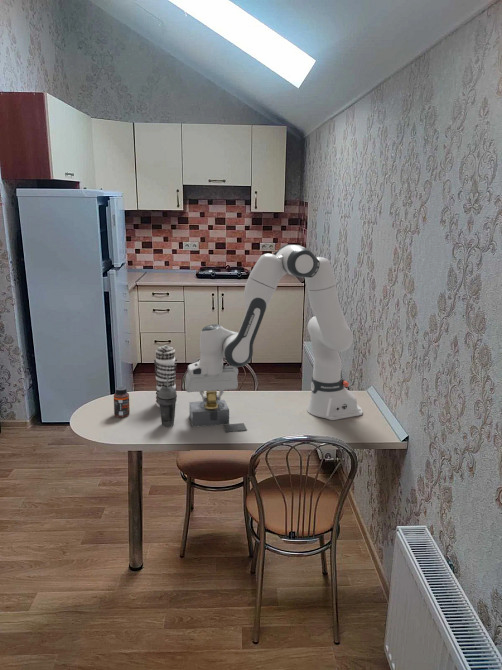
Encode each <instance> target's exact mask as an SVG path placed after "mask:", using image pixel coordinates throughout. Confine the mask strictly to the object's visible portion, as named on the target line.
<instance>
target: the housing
mask: <svg viewBox="0 0 502 670" xmlns="http://www.w3.org/2000/svg"><path fill="white" fill-rule="evenodd" d="M205 404H206V402H203V400H202V401H189V404H188V405H189V410H188V411H189V419H190V422H191V426H192V428H195V427H196V428H197V427H207V426H208V427H209V426H221V425H222V424H223V425H226V424H230V408H229V406H228V404H227V402H226V400H225V399H221V400H220V401H217V404H218V408H215V409H209V408H205ZM223 425H222V426H223Z"/></svg>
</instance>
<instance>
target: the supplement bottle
mask: <svg viewBox="0 0 502 670" xmlns="http://www.w3.org/2000/svg"><path fill="white" fill-rule="evenodd" d="M113 412H114V413H113V414H114V416H115V417H117V418H120V419H121V418H126V417H128V416H129V415H130V414H131V413H130V412H131V411H130V393H129V392H127V387H125V386H118V387H116V388H115V393H114V394H113Z"/></svg>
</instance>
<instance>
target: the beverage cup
mask: <svg viewBox="0 0 502 670" xmlns="http://www.w3.org/2000/svg"><path fill="white" fill-rule="evenodd" d="M176 392H177V390H176V391H175V389H174V388H173V387H171V386H168V376H167V386H163V387H162V388H161V389H160V390H159V392H158V401H159V405H160V407H159V411H160V412H159V413H160V421H161V422H160V423H161V425H162V427H165V428H169V427H173V426H174V425H175V417H176V406H175V404H177V400H176V399H177V397H178V395H177V393H176Z"/></svg>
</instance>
